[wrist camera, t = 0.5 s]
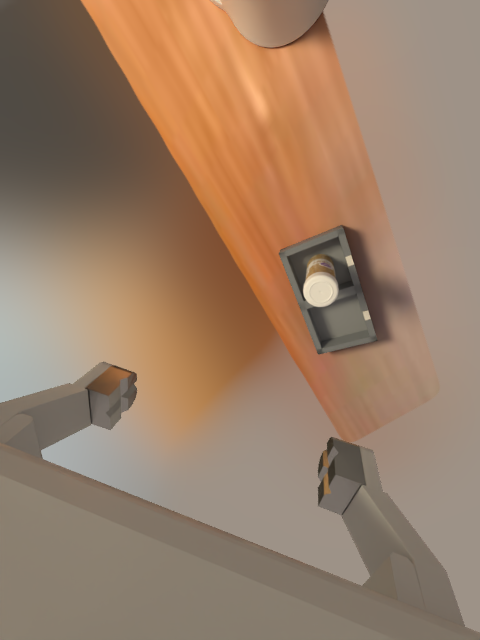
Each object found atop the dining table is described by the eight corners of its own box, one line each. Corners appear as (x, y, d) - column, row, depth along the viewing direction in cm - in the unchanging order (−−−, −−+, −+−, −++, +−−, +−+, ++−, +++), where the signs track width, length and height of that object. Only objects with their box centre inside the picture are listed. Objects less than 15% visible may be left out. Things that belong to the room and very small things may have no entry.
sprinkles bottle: (335, 254, 47) (342, 277, 35) (331, 280, 49) (335, 310, 37) (308, 252, 48) (305, 273, 36) (304, 277, 50) (300, 305, 38)
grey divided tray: (281, 249, 49) (278, 253, 46) (341, 224, 45) (343, 227, 42) (318, 345, 55) (318, 355, 52) (373, 331, 51) (377, 341, 48)
